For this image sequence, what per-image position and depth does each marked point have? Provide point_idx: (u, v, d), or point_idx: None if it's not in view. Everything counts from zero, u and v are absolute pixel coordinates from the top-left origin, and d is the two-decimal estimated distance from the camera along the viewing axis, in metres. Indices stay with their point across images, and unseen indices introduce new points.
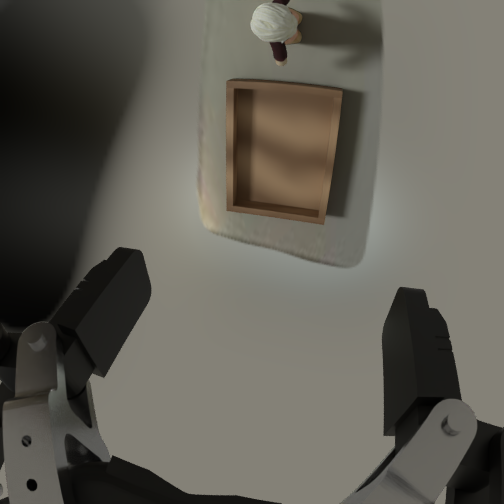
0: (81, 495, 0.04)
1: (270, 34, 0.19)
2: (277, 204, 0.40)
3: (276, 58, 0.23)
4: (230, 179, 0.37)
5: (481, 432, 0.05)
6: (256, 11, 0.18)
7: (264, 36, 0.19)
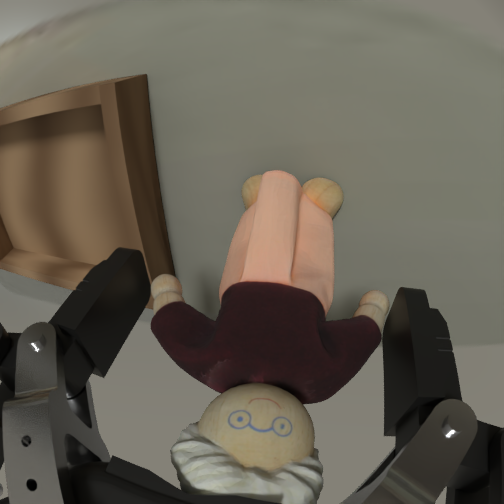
0: (81, 495, 0.04)
1: None
2: None
3: (155, 329, 0.09)
4: None
5: (481, 432, 0.05)
6: None
7: (181, 484, 0.05)
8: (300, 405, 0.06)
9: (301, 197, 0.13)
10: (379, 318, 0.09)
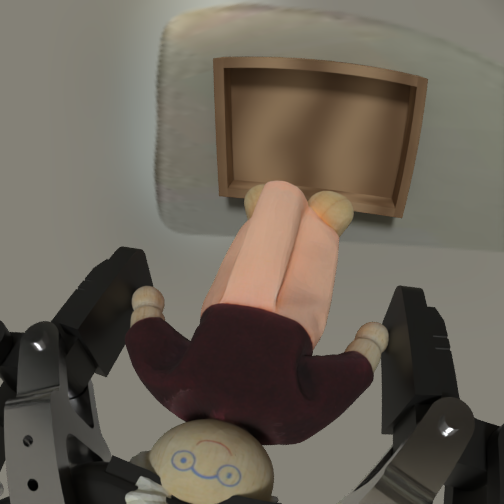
0: (82, 495, 0.04)
1: None
2: (231, 125, 0.26)
3: (127, 344, 0.08)
4: (270, 64, 0.20)
5: (479, 430, 0.05)
6: None
7: None
8: (258, 452, 0.05)
9: (305, 211, 0.12)
10: (374, 356, 0.08)
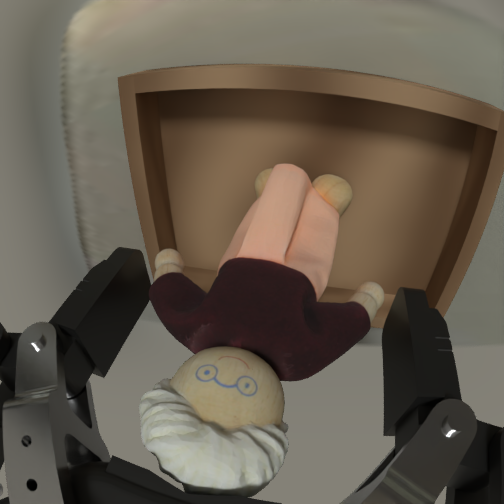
0: (81, 495, 0.04)
1: (153, 453, 0.06)
2: (167, 186, 0.16)
3: (151, 295, 0.09)
4: (215, 80, 0.10)
5: (481, 432, 0.05)
6: (226, 484, 0.04)
7: (144, 434, 0.05)
8: (271, 372, 0.06)
9: (309, 191, 0.13)
10: (370, 307, 0.09)
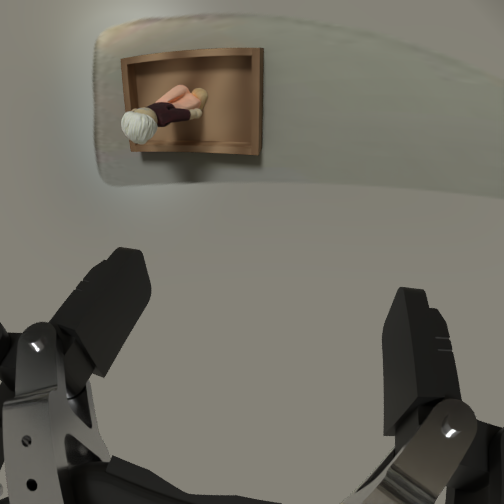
0: (81, 495, 0.04)
1: (122, 129, 0.24)
2: (138, 102, 0.34)
3: None
4: (153, 58, 0.29)
5: (481, 432, 0.05)
6: (137, 118, 0.23)
7: (121, 123, 0.24)
8: (153, 111, 0.25)
9: (188, 93, 0.32)
10: (191, 110, 0.28)
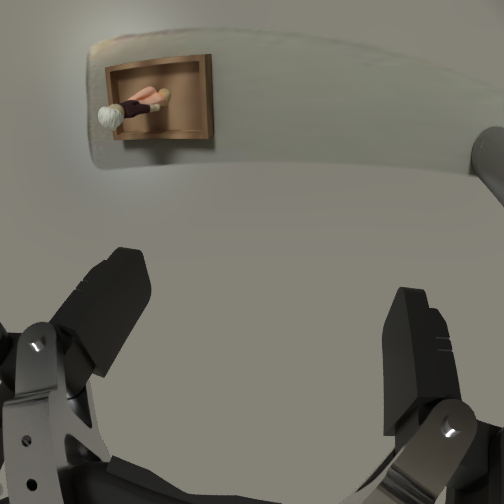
0: (81, 495, 0.04)
1: (99, 120, 0.32)
2: (119, 101, 0.43)
3: None
4: (128, 66, 0.37)
5: (481, 432, 0.05)
6: (107, 111, 0.31)
7: (98, 115, 0.32)
8: (121, 106, 0.33)
9: (154, 92, 0.40)
10: (151, 105, 0.36)
